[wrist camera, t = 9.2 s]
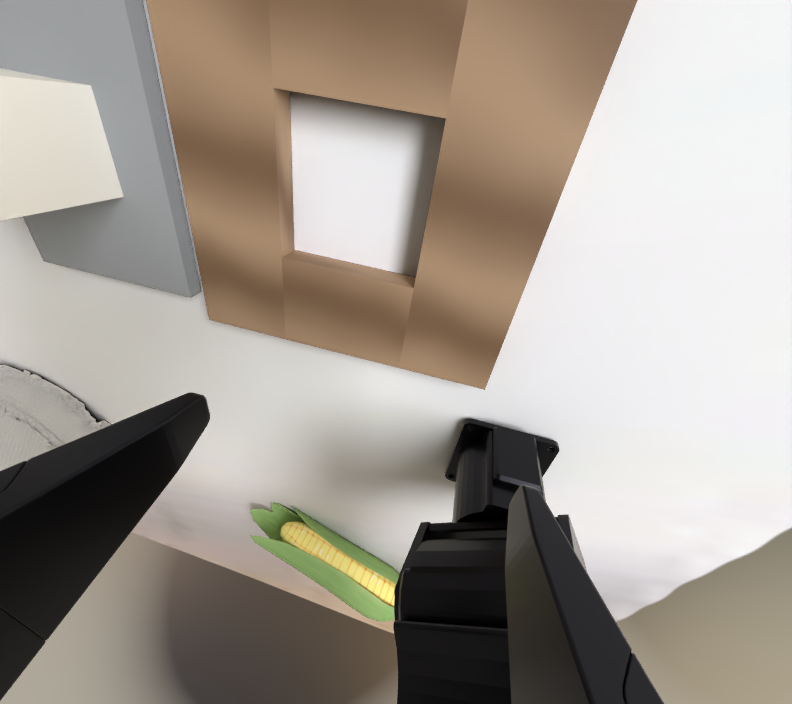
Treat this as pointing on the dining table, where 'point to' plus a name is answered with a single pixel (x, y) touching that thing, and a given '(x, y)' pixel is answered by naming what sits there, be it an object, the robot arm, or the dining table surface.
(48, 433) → the grey stone disc
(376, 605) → the edible corn
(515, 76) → the pocket plate
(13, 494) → the robot arm
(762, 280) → the dining table surface
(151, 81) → the grey mat
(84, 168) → the white block
